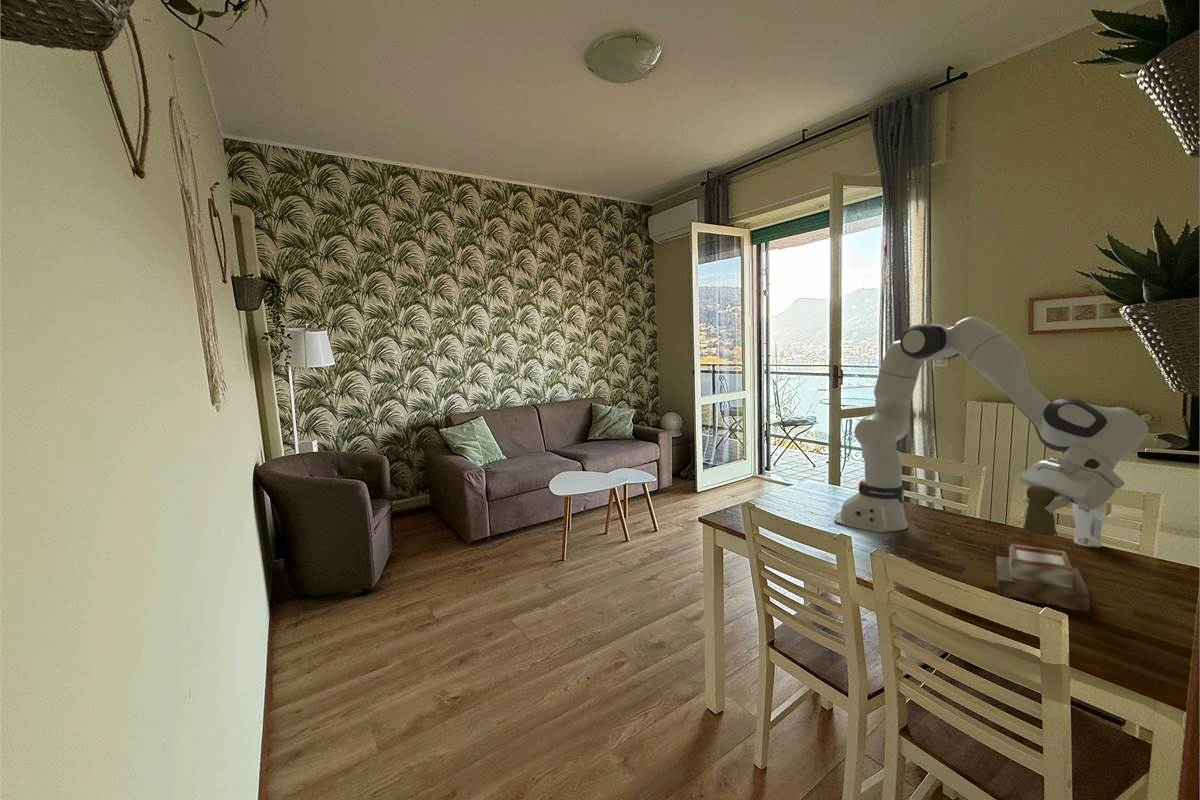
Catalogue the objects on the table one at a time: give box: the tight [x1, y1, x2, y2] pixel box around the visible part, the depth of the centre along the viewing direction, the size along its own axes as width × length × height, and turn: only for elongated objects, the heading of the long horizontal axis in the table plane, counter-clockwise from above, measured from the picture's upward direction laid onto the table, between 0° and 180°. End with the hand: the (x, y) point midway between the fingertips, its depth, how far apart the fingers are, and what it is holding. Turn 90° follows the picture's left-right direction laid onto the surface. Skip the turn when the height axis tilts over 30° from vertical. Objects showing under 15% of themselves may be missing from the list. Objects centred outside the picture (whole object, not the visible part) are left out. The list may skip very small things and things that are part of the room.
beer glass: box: [1071, 502, 1107, 549], centre depth 147 cm, size 7×7×15 cm
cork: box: [1023, 486, 1057, 536], centre depth 122 cm, size 6×6×11 cm
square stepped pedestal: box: [995, 543, 1090, 613], centre depth 124 cm, size 16×16×9 cm
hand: (1037, 507), depth 122 cm, fingers closed on cork, 4 cm apart
